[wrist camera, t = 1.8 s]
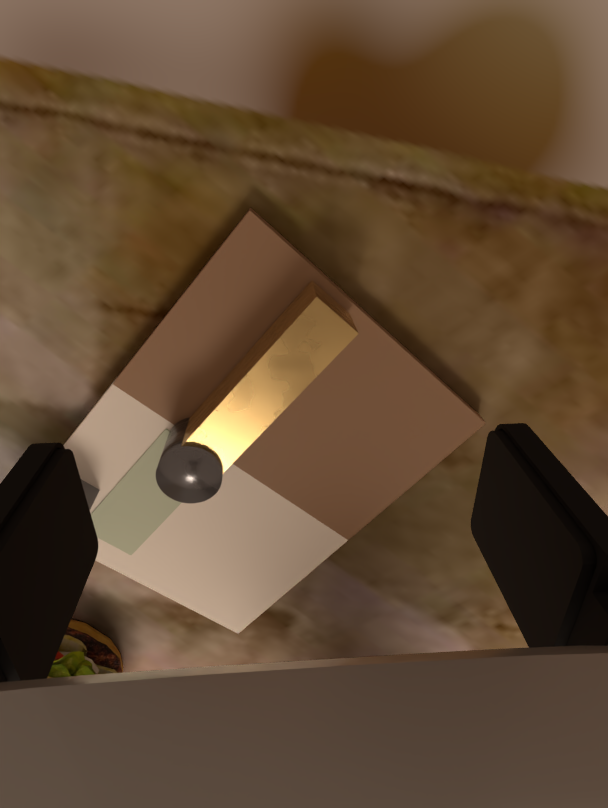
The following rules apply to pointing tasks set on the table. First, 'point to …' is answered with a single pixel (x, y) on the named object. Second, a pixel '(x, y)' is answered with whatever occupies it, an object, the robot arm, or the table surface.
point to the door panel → (257, 440)
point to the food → (85, 653)
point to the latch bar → (253, 395)
